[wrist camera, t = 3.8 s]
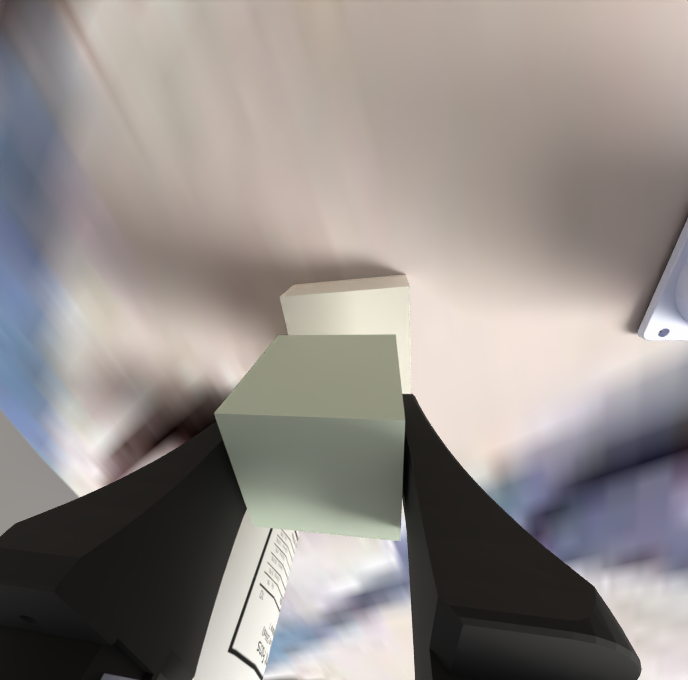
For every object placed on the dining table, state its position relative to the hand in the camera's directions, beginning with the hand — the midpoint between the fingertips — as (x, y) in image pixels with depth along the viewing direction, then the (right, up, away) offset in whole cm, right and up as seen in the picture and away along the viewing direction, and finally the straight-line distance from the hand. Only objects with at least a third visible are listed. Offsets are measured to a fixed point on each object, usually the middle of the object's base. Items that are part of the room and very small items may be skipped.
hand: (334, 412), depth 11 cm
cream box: (+1, +4, +7) cm, 8 cm away
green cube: (0, +1, +1) cm, 2 cm away
